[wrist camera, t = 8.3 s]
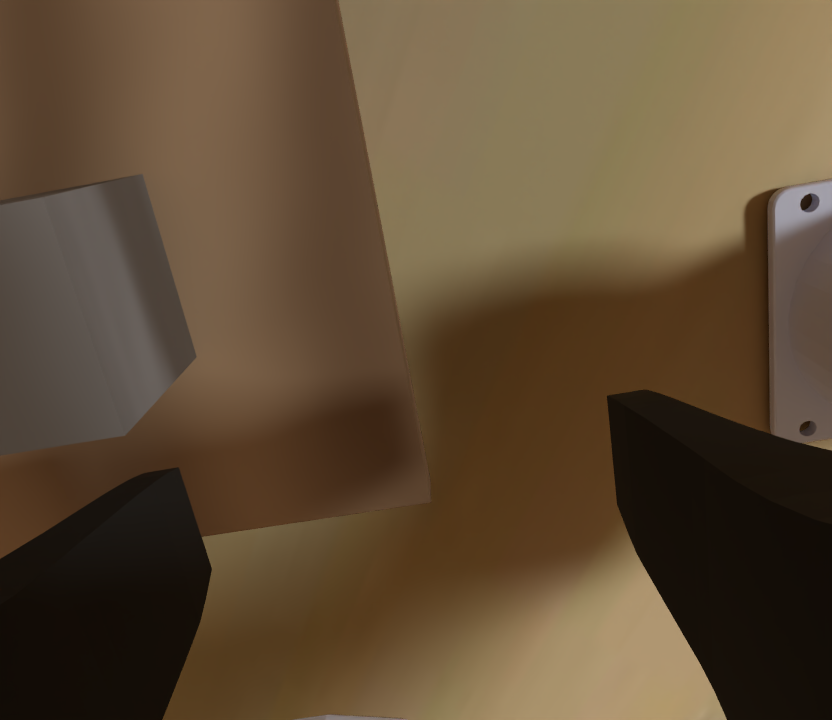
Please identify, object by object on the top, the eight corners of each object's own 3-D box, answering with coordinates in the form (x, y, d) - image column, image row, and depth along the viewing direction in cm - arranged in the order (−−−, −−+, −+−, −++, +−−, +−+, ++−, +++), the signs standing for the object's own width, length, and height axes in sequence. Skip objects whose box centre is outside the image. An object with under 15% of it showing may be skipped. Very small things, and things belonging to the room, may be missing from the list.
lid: (316, -112, 14) (259, -229, 9) (430, 481, 18) (433, 615, 13) (-305, 20, 14) (-658, -23, 10) (-56, 555, 19) (-218, 705, 14)
